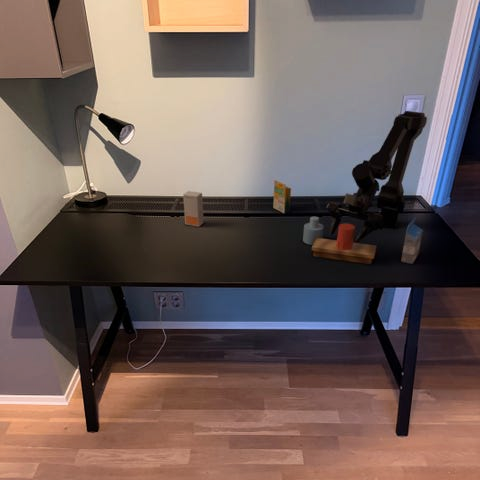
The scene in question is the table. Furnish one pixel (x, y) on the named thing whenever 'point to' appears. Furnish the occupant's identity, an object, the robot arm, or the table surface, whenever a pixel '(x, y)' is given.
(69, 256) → the table surface
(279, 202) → the crayon box
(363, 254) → the brown long block
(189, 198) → the cosmetic box
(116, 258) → the table surface
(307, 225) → the light gray cylinder
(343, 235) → the red cylinder
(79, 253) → the table surface
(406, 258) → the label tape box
